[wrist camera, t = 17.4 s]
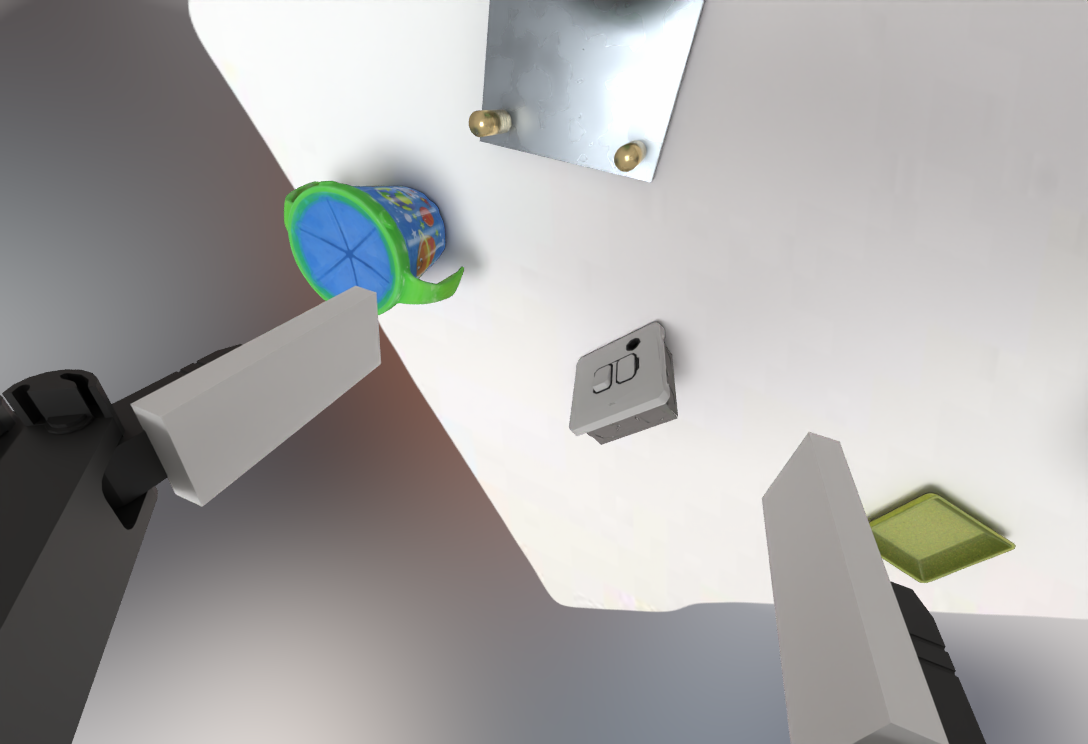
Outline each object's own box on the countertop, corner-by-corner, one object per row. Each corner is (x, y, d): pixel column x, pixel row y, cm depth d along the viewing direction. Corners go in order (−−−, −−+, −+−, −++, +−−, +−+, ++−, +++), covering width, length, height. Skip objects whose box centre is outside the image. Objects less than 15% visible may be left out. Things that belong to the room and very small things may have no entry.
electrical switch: (660, 317, 39) (653, 378, 32) (688, 359, 41) (687, 425, 34) (577, 357, 44) (555, 418, 37) (605, 393, 46) (589, 458, 39)
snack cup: (335, 223, 45) (252, 251, 37) (360, 124, 39) (266, 132, 31) (459, 312, 46) (403, 359, 38) (502, 230, 40) (447, 264, 31)
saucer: (1007, 529, 39) (1020, 548, 38) (915, 567, 45) (923, 585, 43) (928, 477, 39) (937, 494, 38) (845, 521, 44) (850, 538, 43)
